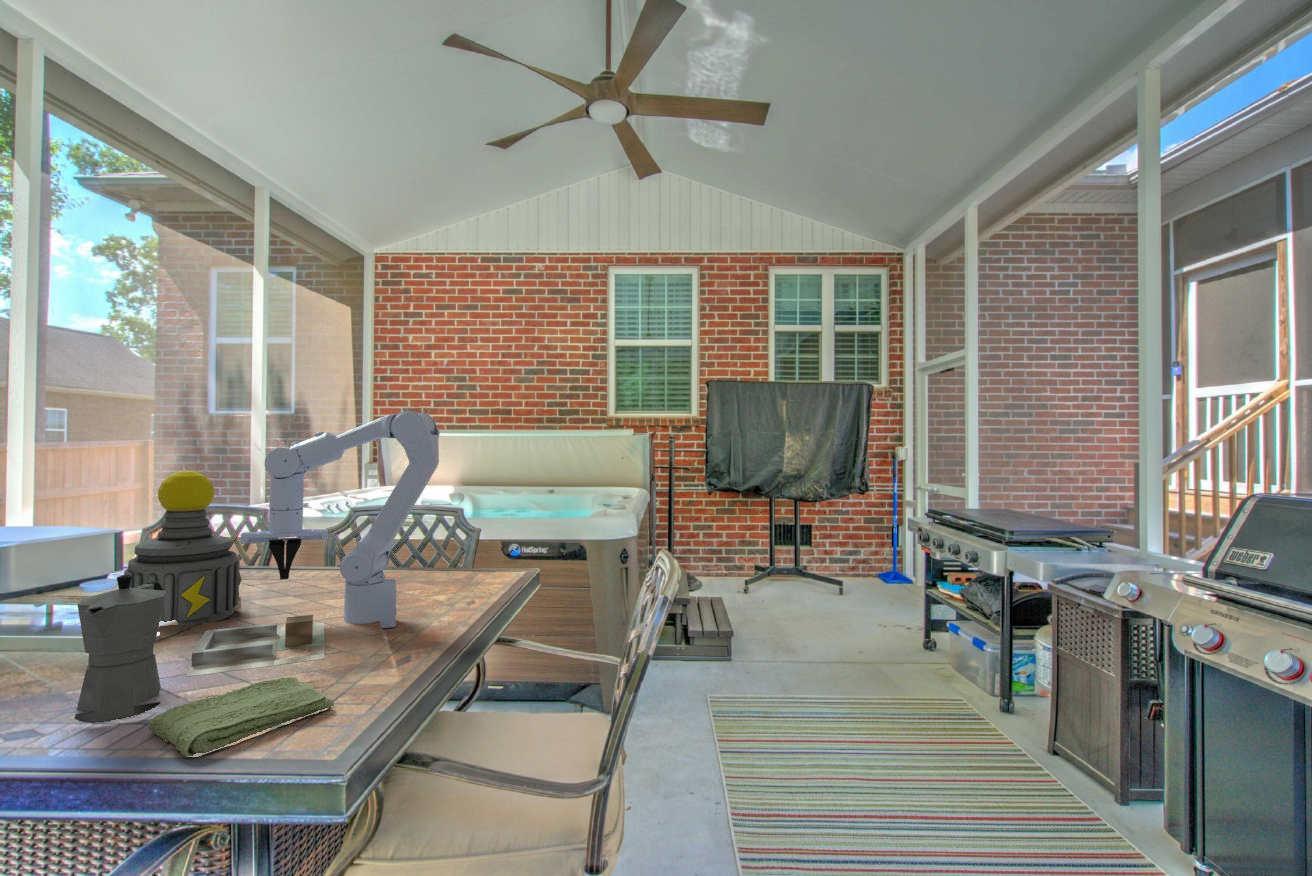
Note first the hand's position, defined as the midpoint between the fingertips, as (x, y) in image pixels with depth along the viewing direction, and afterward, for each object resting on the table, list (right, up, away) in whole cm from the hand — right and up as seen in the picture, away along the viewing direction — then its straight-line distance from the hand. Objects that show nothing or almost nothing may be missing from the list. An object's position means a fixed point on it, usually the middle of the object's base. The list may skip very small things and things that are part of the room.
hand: (284, 578), depth 120 cm
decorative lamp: (-23, -9, +4) cm, 25 cm away
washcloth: (+19, -10, -40) cm, 46 cm away
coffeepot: (0, -9, -36) cm, 37 cm away
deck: (+6, -9, -16) cm, 20 cm away
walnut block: (+11, -8, -13) cm, 19 cm away
